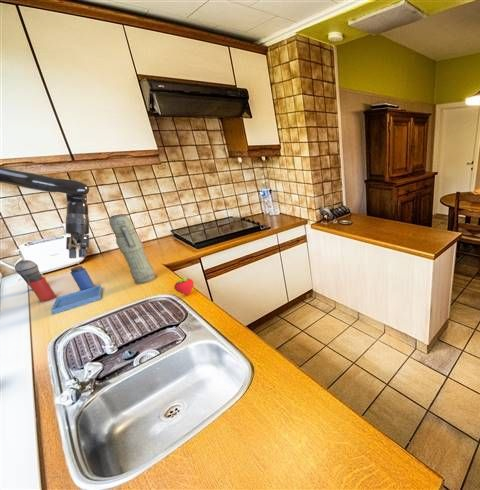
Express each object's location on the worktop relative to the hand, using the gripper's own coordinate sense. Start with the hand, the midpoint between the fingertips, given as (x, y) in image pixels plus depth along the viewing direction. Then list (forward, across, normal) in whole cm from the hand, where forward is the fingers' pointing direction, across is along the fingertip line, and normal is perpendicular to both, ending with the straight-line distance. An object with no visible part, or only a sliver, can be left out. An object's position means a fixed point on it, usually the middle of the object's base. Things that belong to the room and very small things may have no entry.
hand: (77, 257), depth 125 cm
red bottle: (+19, -16, -4) cm, 25 cm away
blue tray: (+20, +2, 0) cm, 20 cm away
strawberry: (+20, +50, +18) cm, 57 cm away
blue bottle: (+15, -8, +7) cm, 18 cm away
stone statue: (+13, +14, +21) cm, 28 cm away
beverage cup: (+14, -36, 0) cm, 39 cm away
